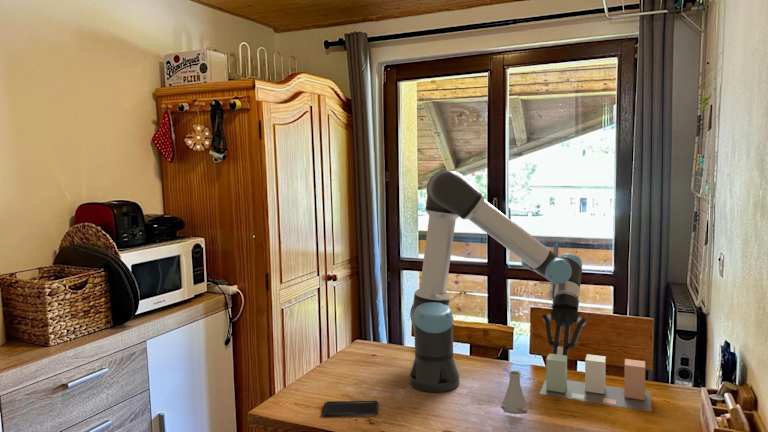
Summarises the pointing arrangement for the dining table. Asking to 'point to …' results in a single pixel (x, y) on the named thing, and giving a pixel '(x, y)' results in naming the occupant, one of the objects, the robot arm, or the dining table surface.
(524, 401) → the flask
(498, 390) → the dining table surface
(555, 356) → the pale green tall block
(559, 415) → the dining table surface
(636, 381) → the pink tall block
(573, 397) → the grey board
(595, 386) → the cream tall block
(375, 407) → the phone
